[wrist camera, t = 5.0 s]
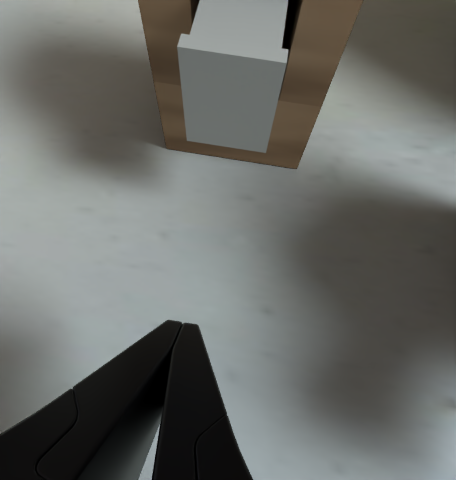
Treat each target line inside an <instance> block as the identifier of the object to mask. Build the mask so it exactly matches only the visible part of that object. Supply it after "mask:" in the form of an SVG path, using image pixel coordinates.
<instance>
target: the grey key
mask: <svg viewBox="0 0 456 480" xmlns="http://www.w3.org/2000/svg"><path fill="white" fill-rule="evenodd" d="M287 5H288V0H200V1H199V5H198V8H197V11H196V15H195V18H194V21H193V25H192V28H191V32H190V35H187V34H181V36H180V39H179V42H178V46H177V50H178V59H179V69H180V79H181V89H182V98H183V108H184V118H185V127H186V137H187V141H192V142H198V143H205V144H211V145H218V146H224V147H231V148H237V149H244V150H250V151H256V152H263V153H266V150H267V146H268V142H269V137H270V133H271V129H272V124H273V120H274V116H275V111H276V107H277V103H278V99H279V94H280V90H281V86H282V81H283V77H284V73H285V68H286V64H287V57H288V49H282V42H283V35H284V28H285V20H286V13H287Z"/></svg>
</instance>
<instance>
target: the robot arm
mask: <svg viewBox="0 0 456 480" xmlns="http://www.w3.org/2000/svg"><path fill="white" fill-rule="evenodd" d="M160 421H161V423H160ZM159 424H160V429H159V436H158V442H157V449H156V455H155V462H154V468H153V475H152V480H253V478H252V476H251V474H250V472H249V470H248V468H247V465H246V463H245V461H244V459H243V456H242V454H241V452H240V449H239V447H238V444H237V441H236V439H235V436H234V433H233V430H232V427H231V424H230V421H229V418H228V416H227V412H226V409H225V406H224V403H223V400H222V397H221V394H220V391H219V387H218V384H217V381H216V378H215V375H214V372H213V369H212V366H211V363H210V359H209V356H208V353H207V350H206V347H205V344H204V341H203V338H202V335H201V331H200V328H199V326H198V325H197V324H191V323H183V324H182V322H179V321H173V320H167V321H165V322H164V323H162V324H161V325H160V326H158V327H157V328H155V329H154V330H153V331H151V332H150V333H148V334H147V335H145V336H144V337H143V338H141V339H140V340H138V341H137V342H136V343H134V344H133V345H131V346H130V347H129V348H127V349H126V350H124V351H123V352H122V353H120V354H119V355H117V356H116V357H114V358H113V359H112V360H110V361H109V362H107V363H106V364H105V365H103V366H102V367H100V368H99V369H98V370H96V371H95V372H93V373H92V374H91V375H89V376H88V377H86V378H85V379H83V380H82V381H81V382H79V383H78V384H76V385H75V386H74V387H73V389H69V390H68V391H66V392H65V393H64V394H62V395H61V396H59V397H58V398H56V399H55V400H53V401H52V402H51V403H49V404H48V405H46V406H45V407H43V408H42V409H40V410H39V411H37V412H36V413H34V414H32V415H31V416H29V417H28V418H26V419H24V420H23V421H21V422H19V423H18V424H16V425H15V426H13V427H11V428H10V429H8V430H6V431H5V432H3V433H1V434H0V480H138V478H139V476H140V473H141V471H142V468H143V465H144V463H145V460H146V458H147V455H148V452H149V450H150V447H151V445H152V442H153V439H154V437H155V434H156V432H157V429H158V427H159Z"/></svg>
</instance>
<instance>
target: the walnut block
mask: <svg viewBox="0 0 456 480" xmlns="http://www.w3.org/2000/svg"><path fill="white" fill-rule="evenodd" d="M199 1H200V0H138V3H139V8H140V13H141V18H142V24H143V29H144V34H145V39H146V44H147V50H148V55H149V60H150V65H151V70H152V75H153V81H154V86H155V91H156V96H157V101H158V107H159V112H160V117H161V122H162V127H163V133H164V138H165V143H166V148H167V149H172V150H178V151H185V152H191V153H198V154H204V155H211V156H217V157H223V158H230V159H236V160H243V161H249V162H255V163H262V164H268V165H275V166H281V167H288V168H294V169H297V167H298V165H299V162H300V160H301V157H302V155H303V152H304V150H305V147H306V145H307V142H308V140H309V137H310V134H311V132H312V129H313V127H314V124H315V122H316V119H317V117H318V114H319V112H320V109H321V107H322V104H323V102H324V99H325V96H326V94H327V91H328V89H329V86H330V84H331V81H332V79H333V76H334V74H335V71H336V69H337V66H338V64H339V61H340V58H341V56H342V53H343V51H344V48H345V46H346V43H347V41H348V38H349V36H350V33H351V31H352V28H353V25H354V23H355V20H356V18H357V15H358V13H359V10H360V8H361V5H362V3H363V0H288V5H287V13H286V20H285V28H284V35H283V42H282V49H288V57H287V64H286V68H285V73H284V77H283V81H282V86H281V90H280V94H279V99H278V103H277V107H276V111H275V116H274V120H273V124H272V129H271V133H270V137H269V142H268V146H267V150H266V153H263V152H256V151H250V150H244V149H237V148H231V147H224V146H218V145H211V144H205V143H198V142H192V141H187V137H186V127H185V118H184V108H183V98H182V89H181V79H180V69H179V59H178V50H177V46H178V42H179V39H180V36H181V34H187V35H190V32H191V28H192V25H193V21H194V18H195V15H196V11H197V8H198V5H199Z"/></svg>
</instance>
